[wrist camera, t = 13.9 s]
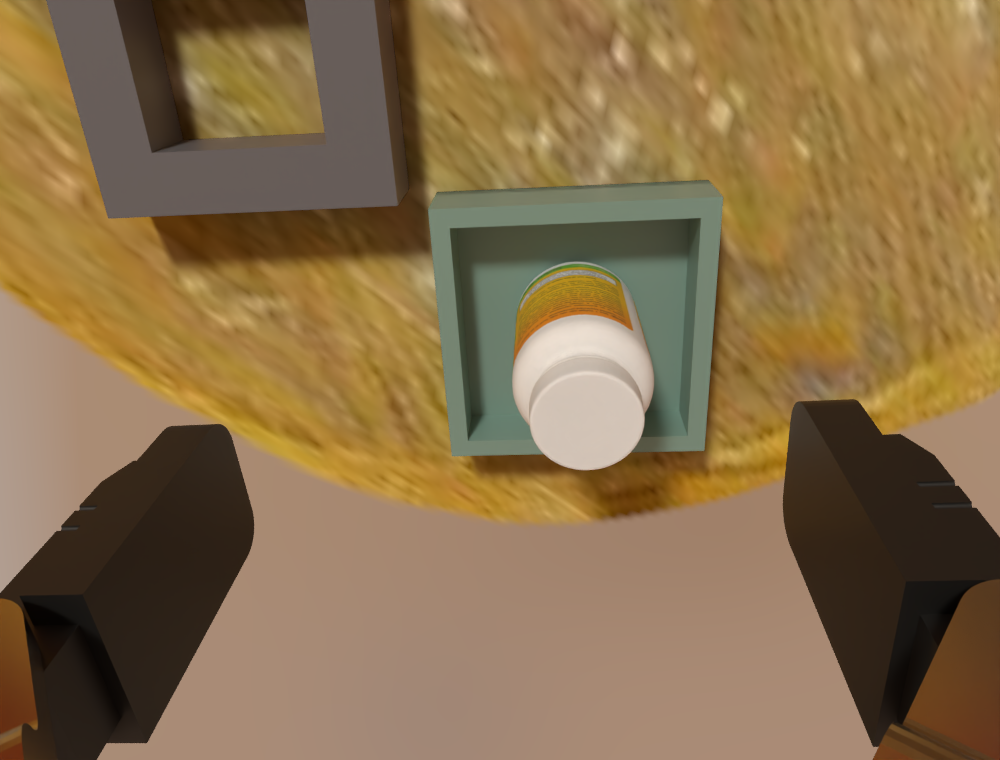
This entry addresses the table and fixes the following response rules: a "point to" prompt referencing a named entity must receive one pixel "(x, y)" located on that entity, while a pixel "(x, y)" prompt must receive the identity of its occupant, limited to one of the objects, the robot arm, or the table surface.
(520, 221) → the tray
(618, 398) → the supplement bottle
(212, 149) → the socket block
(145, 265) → the table surface
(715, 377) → the table surface
